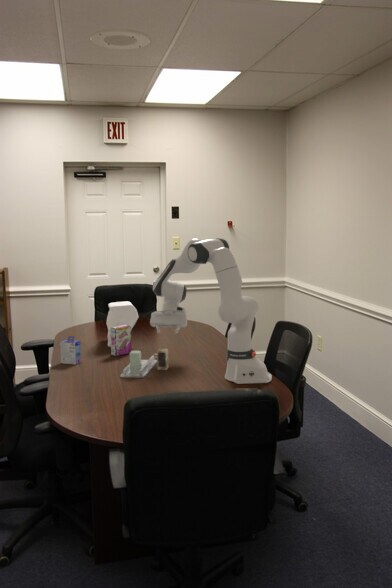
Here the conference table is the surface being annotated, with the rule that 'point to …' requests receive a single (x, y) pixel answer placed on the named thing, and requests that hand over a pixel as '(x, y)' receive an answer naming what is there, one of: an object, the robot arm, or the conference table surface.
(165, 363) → the wooden block
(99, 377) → the conference table surface
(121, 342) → the candy bar box
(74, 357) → the ink cartridge box
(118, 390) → the conference table surface
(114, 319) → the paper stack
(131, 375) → the rail
